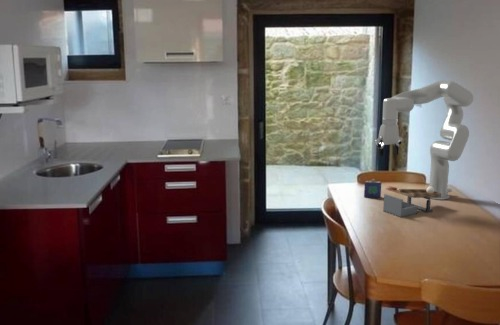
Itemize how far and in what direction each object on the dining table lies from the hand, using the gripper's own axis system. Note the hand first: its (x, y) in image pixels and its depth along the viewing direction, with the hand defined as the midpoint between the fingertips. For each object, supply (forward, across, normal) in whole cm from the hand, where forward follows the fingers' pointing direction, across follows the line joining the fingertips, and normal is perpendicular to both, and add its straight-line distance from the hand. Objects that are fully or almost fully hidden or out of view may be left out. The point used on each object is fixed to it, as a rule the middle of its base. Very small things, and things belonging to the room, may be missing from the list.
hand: (388, 154), depth 273 cm
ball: (+18, -18, +13) cm, 29 cm away
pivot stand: (+27, -10, +14) cm, 32 cm away
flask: (+27, -2, -14) cm, 30 cm away
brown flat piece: (+20, -9, +10) cm, 25 cm away
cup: (+27, +4, +15) cm, 31 cm away
